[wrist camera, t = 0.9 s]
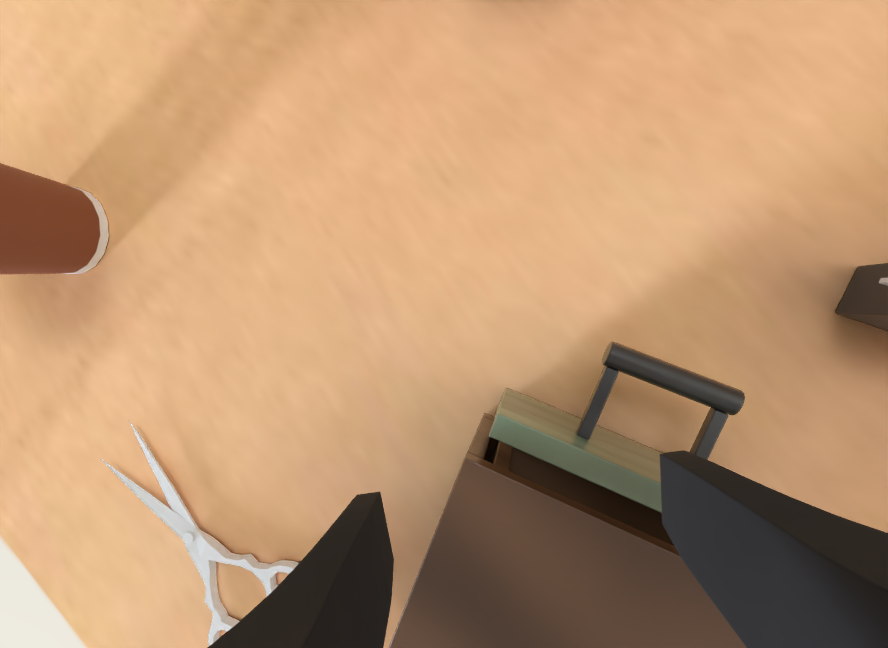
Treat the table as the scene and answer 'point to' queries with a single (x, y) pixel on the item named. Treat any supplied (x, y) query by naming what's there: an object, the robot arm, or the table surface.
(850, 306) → the black block with tab
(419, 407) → the table surface
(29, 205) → the coffee cup
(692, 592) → the cabinet
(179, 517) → the scissors
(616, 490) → the drawer
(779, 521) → the robot arm
